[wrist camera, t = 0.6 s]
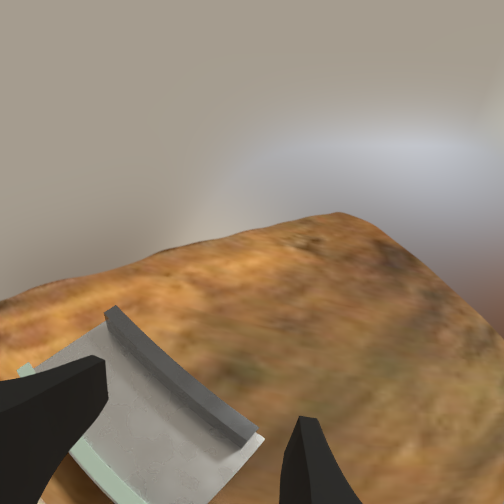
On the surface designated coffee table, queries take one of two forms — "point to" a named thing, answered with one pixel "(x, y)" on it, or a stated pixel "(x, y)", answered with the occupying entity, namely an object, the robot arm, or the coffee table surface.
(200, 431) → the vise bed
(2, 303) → the coffee table surface
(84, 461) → the bar
